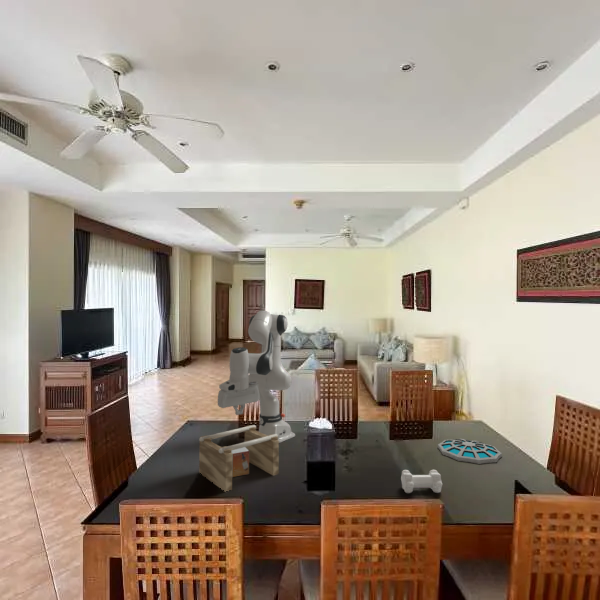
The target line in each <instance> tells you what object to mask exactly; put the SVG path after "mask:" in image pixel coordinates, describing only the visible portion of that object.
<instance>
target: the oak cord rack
mask: <svg viewBox="0 0 600 600" xmlns="http://www.w3.org/2000/svg"><path fill="white" fill-rule="evenodd" d="M247 426H251V424H250V425H246V426H244V427H247ZM271 435H273V434H271ZM204 436H208V435H201V436H200V437H204ZM266 436H270V435H265V434H263V433H260V432H259V430H257V426H256V427H252V428H249V431H244V442H247V441H251V440H254V439H258V438H262V437H266ZM279 444H280V443H279V440H278V437H277V436H275V437H271V440H269V441H265V442H262V443H258V444H254V445H250V446H247V447H246V448H247V449H248V450H249V464H252V465H254V467H256V468H258V469H261V470H262V471H264V472H266V473H268V474H269V475H271V476H273V477H274V476H277V475H280V470H279V469H280V468H279V466H280V464H279V463H280V456H279V455H280V452H279V451H280V449H279V448H280V445H279ZM224 447H228V446H220V445H218V444H217V443H214V442H213V441H212V439H211V438H205V439H204V441H203V442H200V441H199V447H198V448H199V451H198V452H199V457H198V459H199V464H198V465H199V466H198V469H199V474H200V473H201V474H202V476H203V477H204V478H205V477H206V479H207V480H208V481H209V482H211V483H212V482H213V485H215V486H216V487H217V488H219V489H220V488H221V490H222V491H223V490H224V491H223V492H224V493H227V492H226V491H228V492H230V491H229V490H231V491H232V490H233V477H232V453H231V449H226V450H224V453H219V449H220V448H224ZM201 474H200V475H201Z"/></svg>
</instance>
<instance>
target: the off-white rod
mask: <svg viewBox="0 0 600 600" xmlns="http://www.w3.org/2000/svg"><path fill="white" fill-rule="evenodd" d="M275 436H277V437H278V435H277V434H273V435H270V436H266V437H262V438H258V439H254V440H251V441H247V442H245V441H243V442H239V443H236V444H232V445H231V444H230V445H228V446H227V447H224V446H223V447H224V448H220V449H219V453H224V450H226V449H231V451H232V450H236V449H239V448H243V447H247V446H250V445H254V444H258V443H262V442H265V441H269V440H271V437H275Z"/></svg>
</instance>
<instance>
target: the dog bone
mask: <svg viewBox="0 0 600 600" xmlns="http://www.w3.org/2000/svg"><path fill="white" fill-rule="evenodd" d="M400 480H401V488H402V490H404V492H405V493H406V494H411V493H413V491H414V489H415V488H417V489H418V488H419V489H420V488H422V489H423V488H424V489H425V488H427V489H428V488H430V489H431V490H432V491H433V493H436V494H440V493H441V491H442V487H443V482H442V475H441V473H439V472H438V470H436V469H431V470H429V472H428V474H412V473H411V472H410V470H408V469H403V470H402V471H401V476H400Z"/></svg>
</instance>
